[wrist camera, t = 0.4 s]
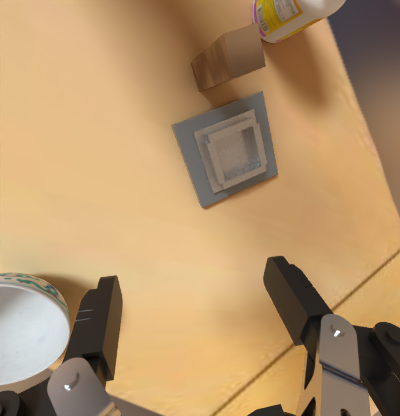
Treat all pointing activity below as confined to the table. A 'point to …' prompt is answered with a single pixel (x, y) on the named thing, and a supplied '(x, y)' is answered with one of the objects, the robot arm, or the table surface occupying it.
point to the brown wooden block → (229, 57)
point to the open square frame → (231, 150)
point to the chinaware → (30, 326)
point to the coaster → (211, 117)
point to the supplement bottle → (289, 16)
